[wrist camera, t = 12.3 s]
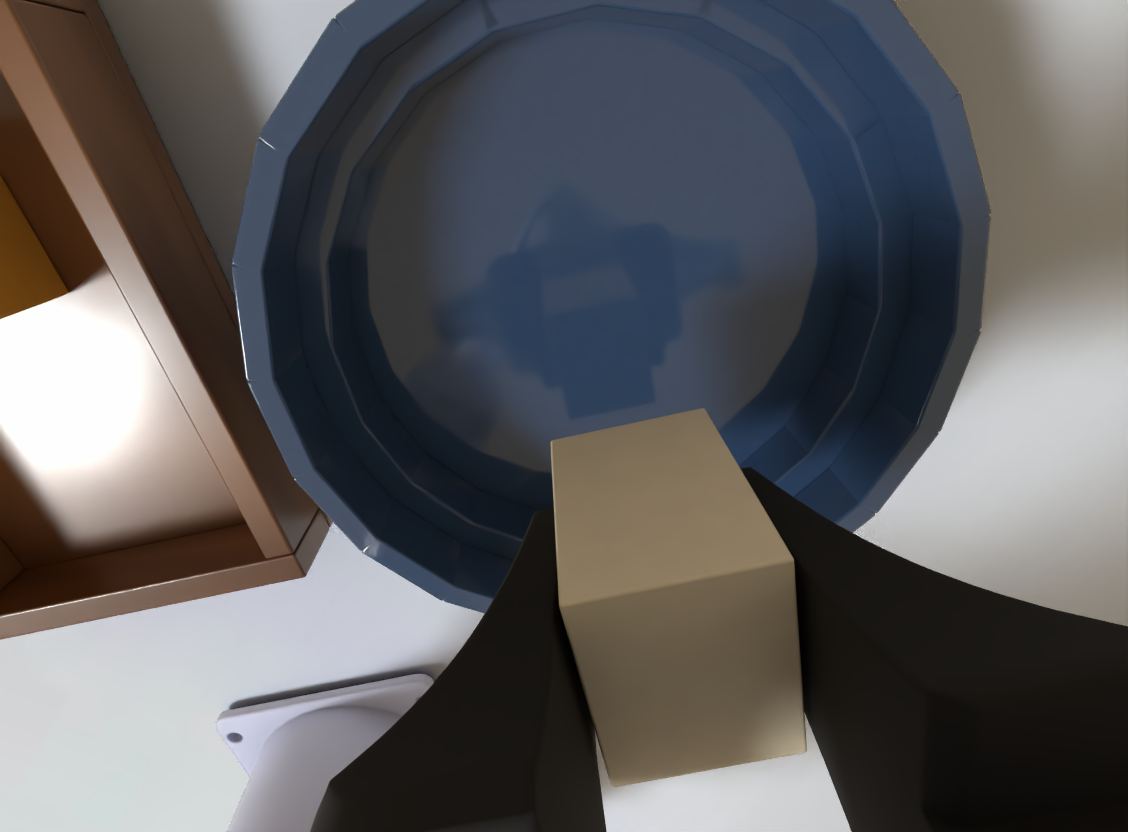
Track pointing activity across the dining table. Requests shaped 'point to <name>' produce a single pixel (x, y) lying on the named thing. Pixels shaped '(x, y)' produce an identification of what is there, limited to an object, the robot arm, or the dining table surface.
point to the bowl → (603, 257)
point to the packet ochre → (23, 261)
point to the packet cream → (675, 600)
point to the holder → (122, 360)
